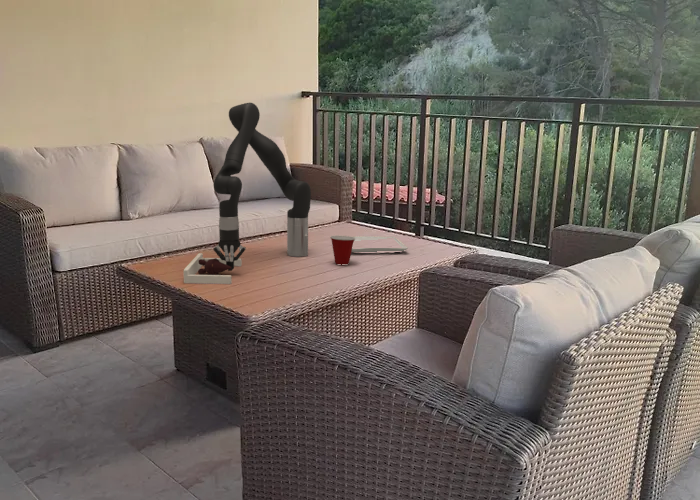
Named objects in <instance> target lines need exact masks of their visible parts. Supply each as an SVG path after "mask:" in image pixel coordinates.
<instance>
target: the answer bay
mask: <svg viewBox="0 0 700 500" xmlns="http://www.w3.org/2000/svg"><path fill="white" fill-rule="evenodd" d="M203 254H204V253H202V252H201V253H200V252H199V253H198V254H196V256H195V257H194V258H193V259H192V260H191V261H190V262H189V264H188V265H187V266H185V268H184V269H183V284H199V285H200V284H202V285H203V284H205V285H206V284H207V285H210V284H211V285H213V284H214V285H215V284H217V285H232V275H225V274H222V275H221V274H218V275H209V274H197V273H198V270H199V269H201V268H202V267H203V265H200V264H199V260H200V259H202V260H203V259H205V261H208V260H210V259H215V258H216V259H218V260H219V262H221V263H224V264H226V261H224V260H221V259H220V257H219V258H218V257H204V256H203ZM204 266H205V265H204ZM234 267H242V258H238V260H235V261H234Z"/></svg>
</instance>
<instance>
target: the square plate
mask: <svg viewBox="0 0 700 500" xmlns="http://www.w3.org/2000/svg"><path fill="white" fill-rule="evenodd" d="M354 237H355V238H356V239H355V240H354V241H361V240H378V239H387V238H394V240H395V241H396V242H397V243H398V244H399V245H400V246H401V247H402V248H360V249H353V248H352V252H351V253H354V252H377V251H404V250H406V251H407V250H408V248H409V247H407V246H406V244H404V243H403V242H402V241H400V240H399V239H398V238H397V237H396V236H381V235H380V236H379V235H377V236H373V235H371V236H370V235H369V236H368V235H362V236H360V235H359V236H358V235H357V236H354ZM404 252H405V251H404Z"/></svg>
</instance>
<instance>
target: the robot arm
mask: <svg viewBox="0 0 700 500" xmlns="http://www.w3.org/2000/svg"><path fill="white" fill-rule="evenodd" d="M260 116H261V115H260V110H259V108H258V106H257V105H256V104H255V103H253V102H245V103H241V104H238V105H235V106H234V105H233V106H232V107H230V109H229V111H228V119H229V121H230V124H231V125H232V126H233V127H234V129H236V131H237V132H238V133H237V134H236V135H235V138H234V139H233V140H232V142H231V143H230V145H229V147H228V148H227V150H226V153H225V158H224V161H223V164H222V167H221V168H220V170H219V171H218V173H217V175H216V176H215V179H214V180H213V181H214V182H213V189H214V191H215V192H216V193H217V194H219V195H229V196H230V197H229V199H224V200H221V201H220V202H219V203H218V205H219V206H218V207H219V209H218V210H219V219H218V229H219V241H218V244H217V245H216V246H214V248H213V249H212V250H213V251H214V253H215V254H216V255H217V256H218V257H219V258H220V259H221V260H224V261H226V265H228V266H230V267H232V268H231V269H228V270H227V271H228V272H232V271H233V270H234V268H235V266H234V261H235V260H238V259H240V257H241V256H242V255H243V254H244V253H245V251H246V250H247V248H246V247H245V246H243V245H242V244H241V241H240V225H239V224H240V222H239V201H240V196H241V193H242V188H243V183H242V180H241V178H240V177H238V176H236V175H239V174H240V173H241V171H242V169H243V164H244V160H245V156H246V152H247V149H248V147H249V146H250V147H251V149H253V151H254V152H255V154H256V155H257V157H258V158H259V160H260V161H261V163H262V164H263V166H265V167H266V169H267V170H268V171H269V173H270V175H272V177H273V179H275V181H276V183H277V184H278V186H279V188H280V190H281V192H282V193H283V195H284V196H285V198H286V199H288V200H290V201H293V203H292V208H290V209H288V210H287V213H286V216H287V217H286V218H287V219H286V220H287V221H286V227H287V229H286V230H287V232H286V233H287V234H286V235H287V237H286V238H287V239H286V245H287V246H286V248H287V249H286V254H287V255H288V256H290V257H296V258H299V257H308V255H309V214H310V211H311V199H312V198H311V197H312V192H311V186H310V185H309V183H308V182H307V181H302V180H297V179H295V178H294V177H293V176H292V174H291V173H290V171H289V169H288V168H287V162H286V161H287V160H286V158H285V154H284V153H283V151H282V150H281V149H280V147H279V145H278V144H277V143H276V142H275V141H274V140H273V139H271V138H270V137H267V136H266V135H265V134H262V133H261V132H260V131H258V130H257V129H256V128H257V126H258V123H259V121H260ZM234 175H235V176H234ZM222 251H223V252H222ZM237 251H238V253H237V254H236V255H235V253H236V252H237Z"/></svg>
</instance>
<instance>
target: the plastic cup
mask: <svg viewBox="0 0 700 500" xmlns="http://www.w3.org/2000/svg"><path fill="white" fill-rule="evenodd" d="M329 237H330V240H331V243H332V244H331V245H332V252H333V256H334V263H336V264H335V265H337V264H341V265H340V266H343V265H342V264H348V263H349V264H350V261H351V255H352V253H353V252H352V247H353V243H354V240H355V239H356V238H355V236H350V235H339V234H338V235H335V234H334V235H330V236H329ZM349 264H348V265H349Z"/></svg>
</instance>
